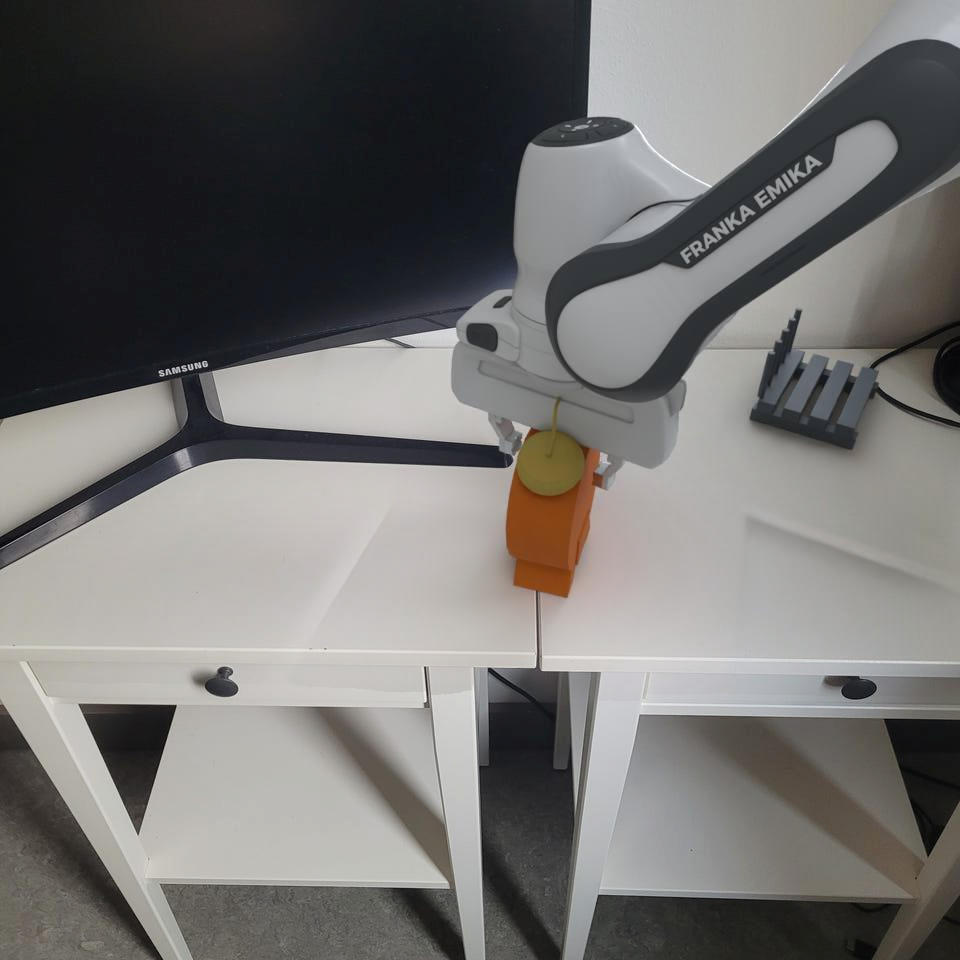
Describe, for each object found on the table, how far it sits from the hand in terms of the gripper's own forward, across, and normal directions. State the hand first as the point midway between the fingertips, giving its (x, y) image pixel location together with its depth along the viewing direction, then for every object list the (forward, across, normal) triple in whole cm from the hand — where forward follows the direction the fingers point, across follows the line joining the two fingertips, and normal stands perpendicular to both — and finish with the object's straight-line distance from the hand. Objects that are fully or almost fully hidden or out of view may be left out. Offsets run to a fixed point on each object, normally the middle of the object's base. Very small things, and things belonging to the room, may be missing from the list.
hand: (555, 466), depth 74 cm
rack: (+11, -16, -40) cm, 44 cm away
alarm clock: (+11, 0, 0) cm, 11 cm away
